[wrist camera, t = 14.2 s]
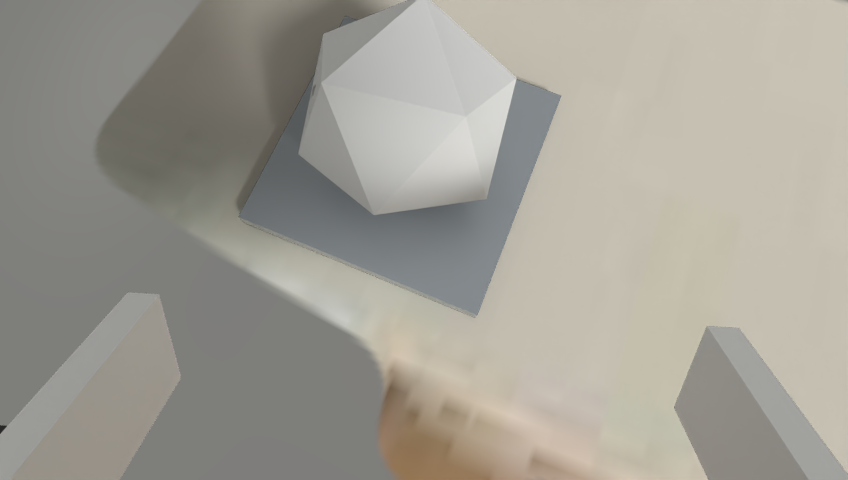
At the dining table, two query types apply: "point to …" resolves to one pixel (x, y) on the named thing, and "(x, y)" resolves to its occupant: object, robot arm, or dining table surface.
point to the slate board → (405, 212)
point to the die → (406, 110)
